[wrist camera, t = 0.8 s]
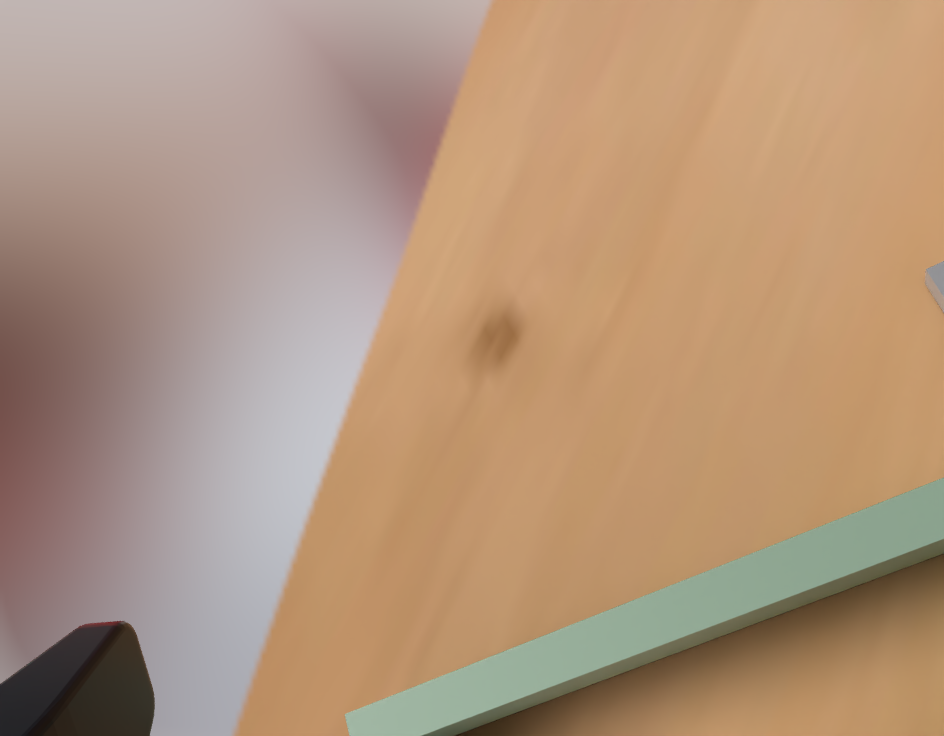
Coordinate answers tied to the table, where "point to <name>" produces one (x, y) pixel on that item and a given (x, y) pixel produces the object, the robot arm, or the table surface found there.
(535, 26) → the table surface
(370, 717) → the green tray
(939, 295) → the slate tile
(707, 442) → the table surface
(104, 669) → the robot arm
